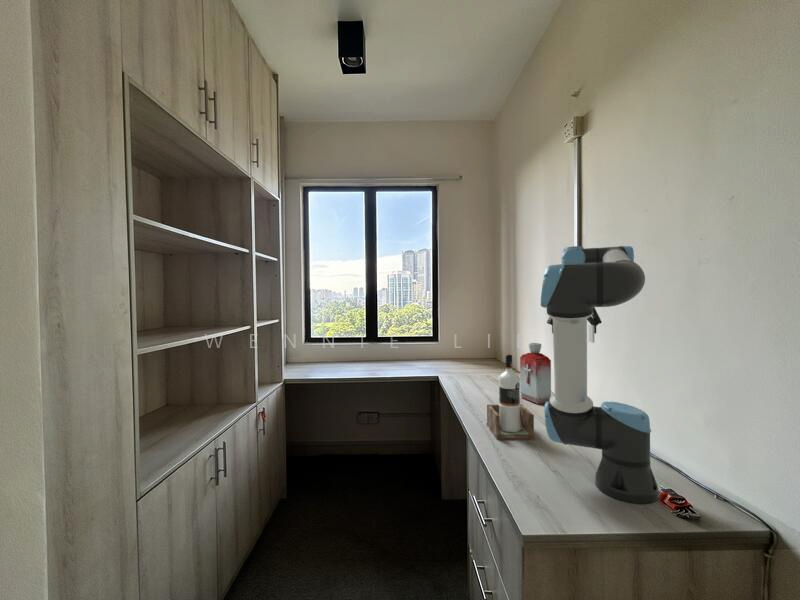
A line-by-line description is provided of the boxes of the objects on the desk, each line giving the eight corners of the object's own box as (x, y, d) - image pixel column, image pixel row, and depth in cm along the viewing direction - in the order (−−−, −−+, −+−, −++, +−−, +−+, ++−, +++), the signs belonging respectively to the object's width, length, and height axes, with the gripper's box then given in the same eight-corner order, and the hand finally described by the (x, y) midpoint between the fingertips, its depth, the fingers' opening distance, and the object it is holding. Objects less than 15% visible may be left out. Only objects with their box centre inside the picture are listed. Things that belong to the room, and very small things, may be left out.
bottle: (518, 398, 198) (518, 342, 198) (534, 396, 201) (534, 341, 201) (536, 405, 184) (535, 345, 184) (553, 403, 187) (552, 344, 187)
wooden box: (534, 439, 141) (534, 415, 141) (497, 439, 141) (496, 416, 140) (520, 424, 157) (520, 403, 157) (486, 425, 157) (486, 404, 156)
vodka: (508, 423, 155) (507, 352, 155) (526, 430, 147) (526, 354, 147) (492, 428, 150) (492, 354, 150) (511, 434, 142) (510, 357, 142)
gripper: (599, 287, 146) (600, 340, 146) (537, 287, 145) (538, 341, 145) (611, 286, 139) (611, 343, 139) (546, 287, 138) (546, 344, 138)
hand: (574, 342), depth 142 cm, fingers open, 13 cm apart
